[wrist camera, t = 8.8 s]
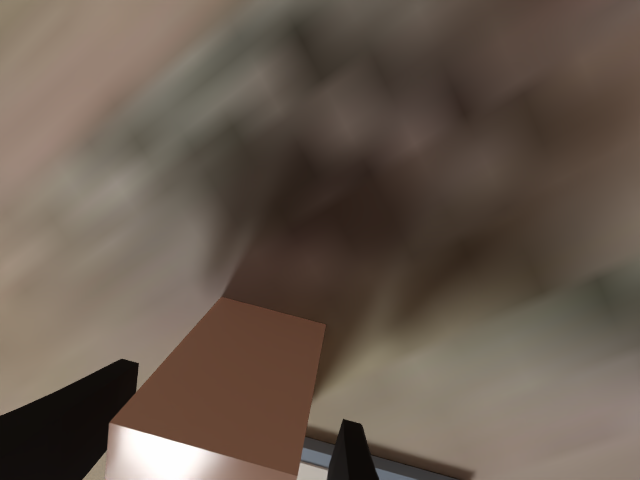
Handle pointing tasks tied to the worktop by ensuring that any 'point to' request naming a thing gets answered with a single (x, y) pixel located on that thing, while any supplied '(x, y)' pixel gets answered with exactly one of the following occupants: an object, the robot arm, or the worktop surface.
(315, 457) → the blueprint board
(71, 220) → the worktop surface
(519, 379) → the worktop surface
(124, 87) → the worktop surface
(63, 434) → the robot arm
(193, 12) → the worktop surface
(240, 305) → the terracotta pillar
